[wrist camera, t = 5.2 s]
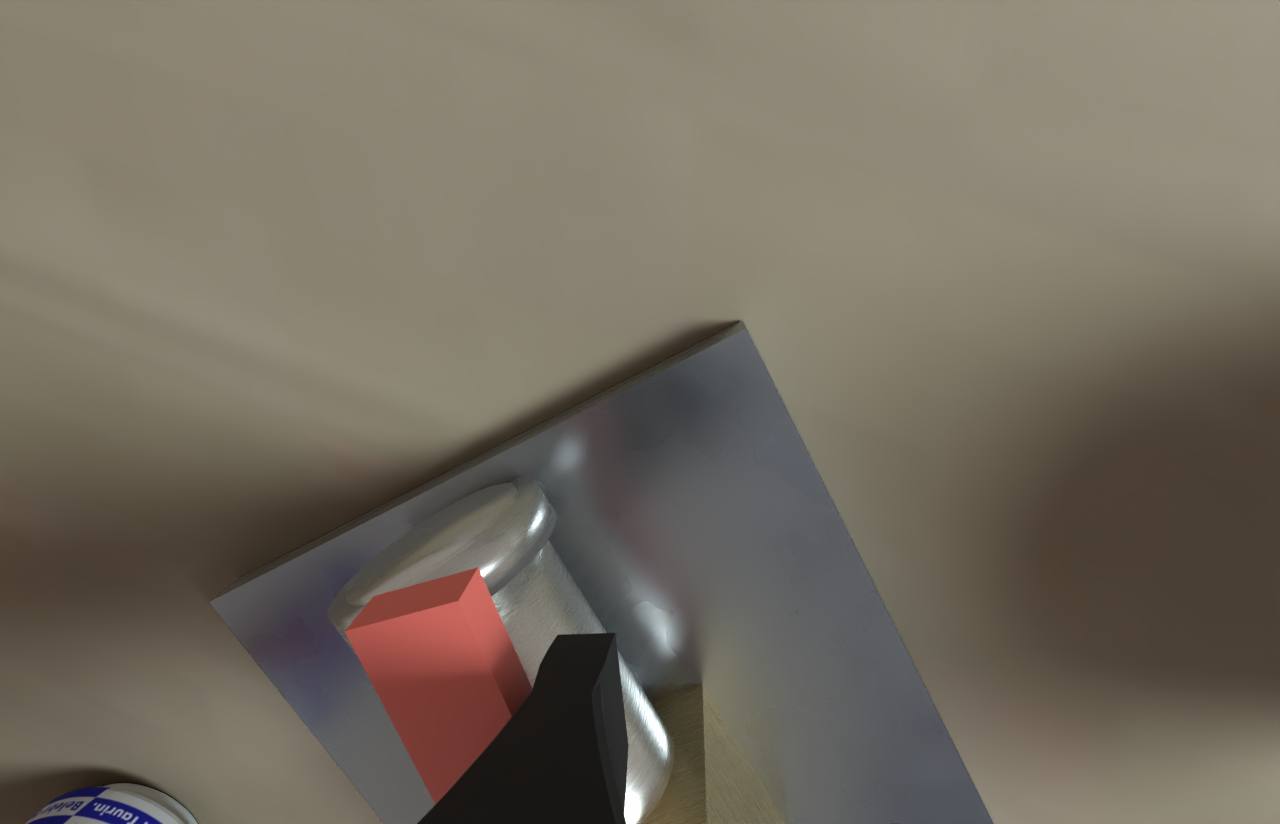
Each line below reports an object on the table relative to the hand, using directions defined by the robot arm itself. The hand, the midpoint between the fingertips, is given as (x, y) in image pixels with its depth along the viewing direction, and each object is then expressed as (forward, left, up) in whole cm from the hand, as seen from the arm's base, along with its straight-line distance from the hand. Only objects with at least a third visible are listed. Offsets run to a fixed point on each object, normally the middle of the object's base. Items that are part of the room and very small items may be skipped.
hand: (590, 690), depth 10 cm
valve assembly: (-7, +3, -6) cm, 9 cm away
